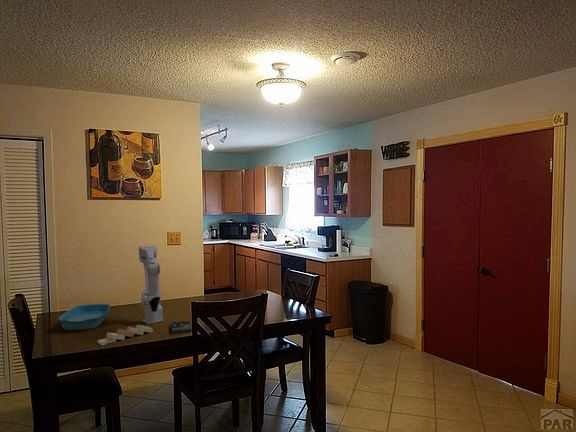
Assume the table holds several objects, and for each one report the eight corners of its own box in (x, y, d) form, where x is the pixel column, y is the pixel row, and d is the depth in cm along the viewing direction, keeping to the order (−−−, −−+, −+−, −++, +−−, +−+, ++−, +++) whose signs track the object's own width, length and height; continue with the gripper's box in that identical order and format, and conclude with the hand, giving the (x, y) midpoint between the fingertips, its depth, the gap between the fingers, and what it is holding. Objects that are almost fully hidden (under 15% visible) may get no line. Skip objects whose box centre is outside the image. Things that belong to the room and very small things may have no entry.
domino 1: (111, 336, 207) (97, 340, 202) (116, 338, 204) (101, 342, 198) (111, 340, 207) (97, 344, 202) (116, 342, 204) (101, 346, 199)
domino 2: (119, 333, 210) (107, 332, 204) (125, 335, 207) (112, 334, 201) (118, 337, 209) (106, 336, 204) (124, 339, 206) (111, 338, 201)
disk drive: (170, 327, 228) (171, 335, 214) (170, 322, 228) (171, 329, 214) (190, 325, 231) (192, 332, 217) (189, 320, 231) (192, 327, 217)
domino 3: (129, 331, 214) (117, 328, 209) (134, 333, 210) (122, 330, 206) (128, 335, 213) (116, 332, 209) (133, 337, 210) (120, 334, 205)
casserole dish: (98, 331, 221) (98, 318, 221) (53, 334, 217) (53, 321, 217) (114, 313, 257) (114, 302, 257) (76, 315, 253) (75, 304, 253)
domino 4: (139, 329, 217) (127, 326, 213) (144, 331, 214) (132, 328, 209) (138, 333, 217) (126, 330, 212) (142, 335, 213) (130, 332, 209)
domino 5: (148, 327, 221) (136, 324, 216) (153, 329, 217) (141, 326, 212) (147, 330, 220) (135, 328, 215) (151, 332, 217) (139, 330, 212)
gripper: (152, 283, 231) (152, 307, 231) (140, 289, 216) (141, 314, 217) (164, 283, 230) (164, 307, 231) (153, 289, 216) (154, 315, 216)
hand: (154, 311), depth 224 cm, fingers closed
